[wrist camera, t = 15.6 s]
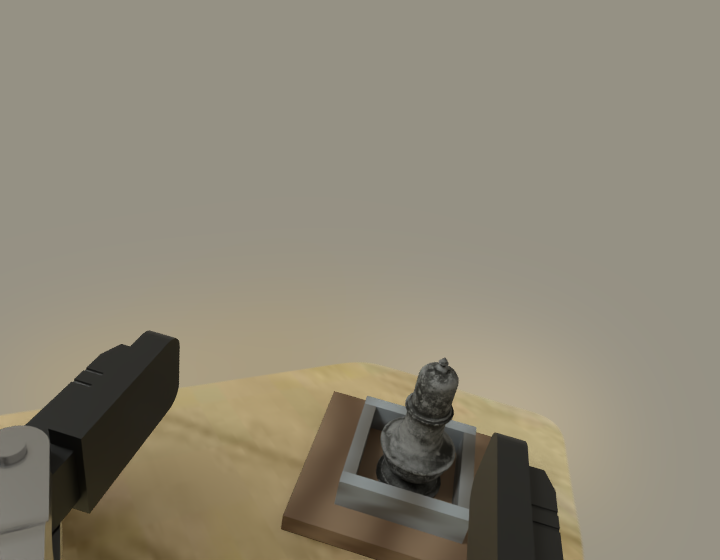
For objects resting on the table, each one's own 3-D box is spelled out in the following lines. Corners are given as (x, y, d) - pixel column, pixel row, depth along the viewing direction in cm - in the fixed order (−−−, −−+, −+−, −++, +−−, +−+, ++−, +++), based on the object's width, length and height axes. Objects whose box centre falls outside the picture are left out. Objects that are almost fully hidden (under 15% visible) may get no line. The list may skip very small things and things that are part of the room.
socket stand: (281, 528, 40) (286, 492, 38) (332, 403, 52) (338, 370, 50) (499, 599, 38) (517, 564, 36) (499, 452, 50) (513, 420, 48)
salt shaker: (363, 449, 46) (392, 333, 40) (428, 444, 47) (465, 332, 41) (384, 511, 41) (420, 389, 35) (455, 502, 43) (501, 384, 37)
